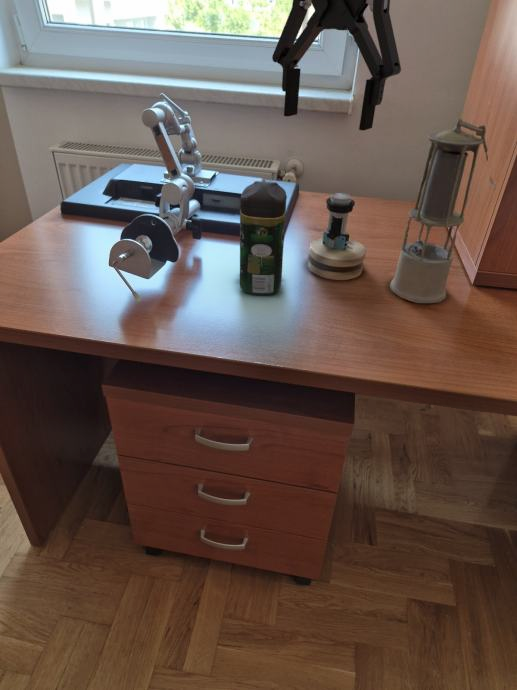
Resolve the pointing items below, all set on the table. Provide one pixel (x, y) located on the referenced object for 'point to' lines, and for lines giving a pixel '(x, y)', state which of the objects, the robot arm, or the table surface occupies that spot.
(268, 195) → the coffee jar
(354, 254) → the wooden yo-yo
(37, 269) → the table surface
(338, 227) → the push button
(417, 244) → the lamp
